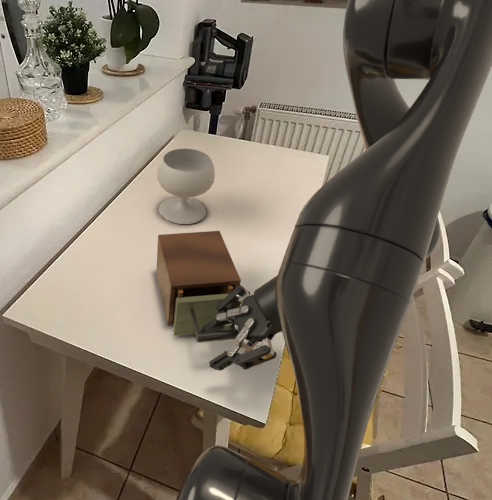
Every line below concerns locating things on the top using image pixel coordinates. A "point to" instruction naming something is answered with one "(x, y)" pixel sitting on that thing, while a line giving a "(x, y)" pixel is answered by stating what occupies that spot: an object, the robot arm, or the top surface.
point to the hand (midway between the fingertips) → (208, 350)
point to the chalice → (185, 184)
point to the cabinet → (192, 265)
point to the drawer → (201, 312)
